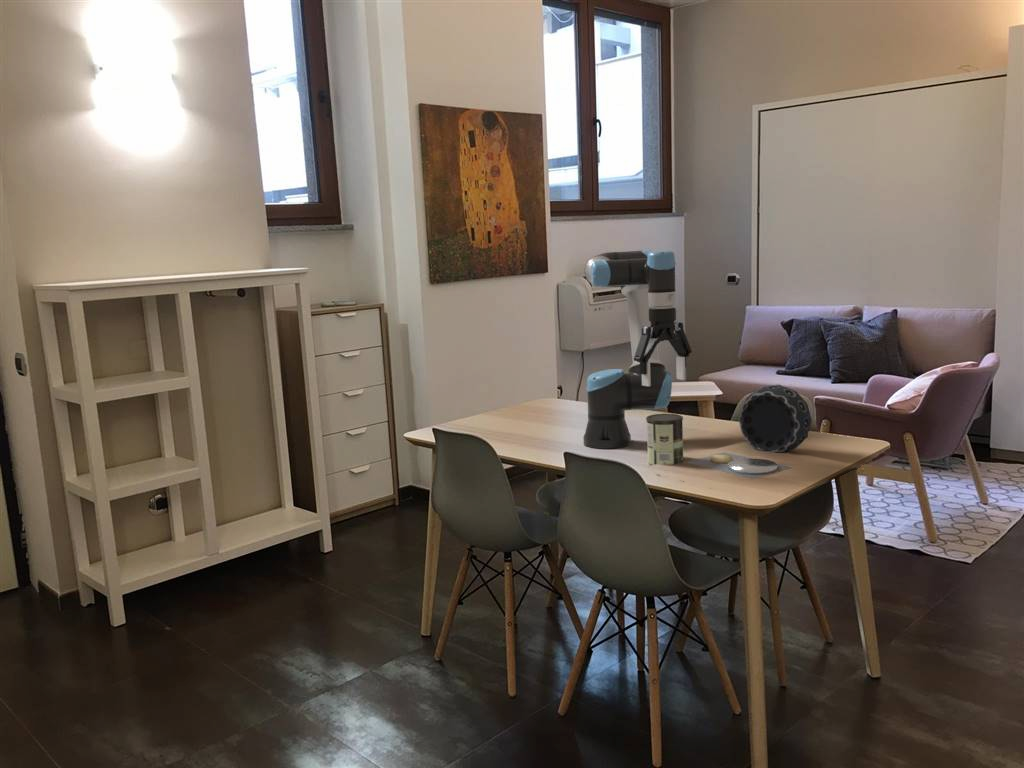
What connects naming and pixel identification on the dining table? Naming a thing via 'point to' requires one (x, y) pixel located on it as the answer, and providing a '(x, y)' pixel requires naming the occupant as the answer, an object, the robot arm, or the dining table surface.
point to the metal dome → (752, 466)
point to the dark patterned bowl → (775, 419)
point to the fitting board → (722, 461)
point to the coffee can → (664, 439)
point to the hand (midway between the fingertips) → (663, 382)
